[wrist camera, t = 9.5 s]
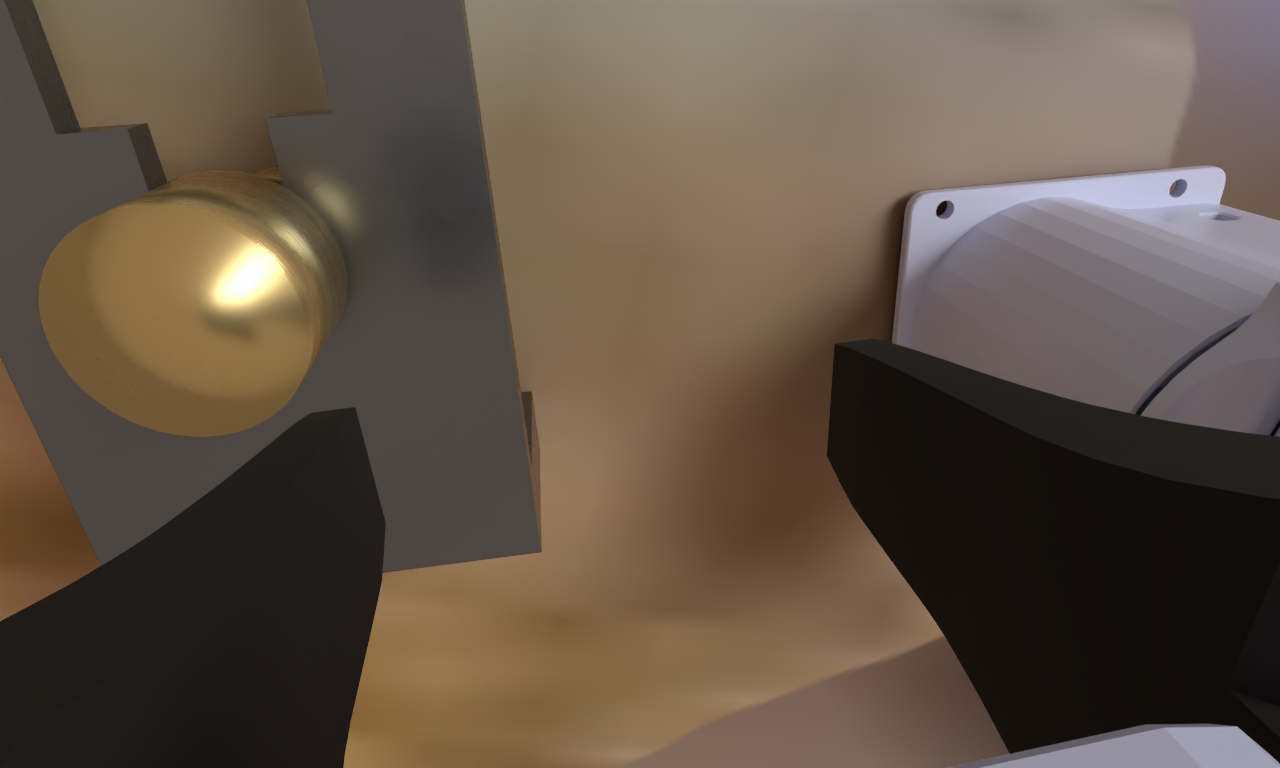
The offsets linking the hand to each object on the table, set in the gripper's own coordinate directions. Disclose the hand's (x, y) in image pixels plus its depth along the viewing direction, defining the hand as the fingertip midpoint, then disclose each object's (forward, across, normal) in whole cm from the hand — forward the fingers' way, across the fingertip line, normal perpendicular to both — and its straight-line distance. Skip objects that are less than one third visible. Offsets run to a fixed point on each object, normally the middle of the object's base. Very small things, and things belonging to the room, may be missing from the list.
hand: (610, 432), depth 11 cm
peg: (+10, +6, -1) cm, 11 cm away
